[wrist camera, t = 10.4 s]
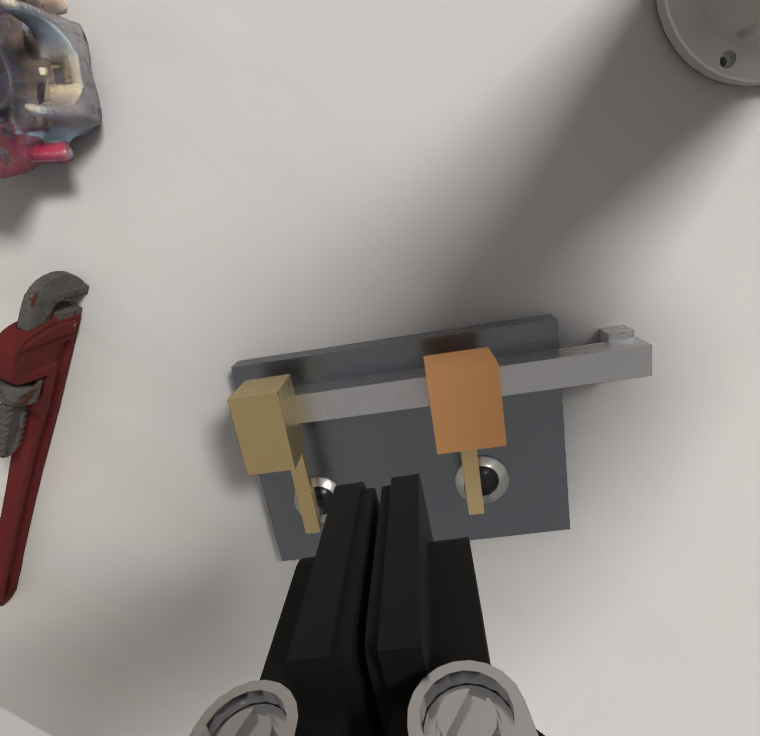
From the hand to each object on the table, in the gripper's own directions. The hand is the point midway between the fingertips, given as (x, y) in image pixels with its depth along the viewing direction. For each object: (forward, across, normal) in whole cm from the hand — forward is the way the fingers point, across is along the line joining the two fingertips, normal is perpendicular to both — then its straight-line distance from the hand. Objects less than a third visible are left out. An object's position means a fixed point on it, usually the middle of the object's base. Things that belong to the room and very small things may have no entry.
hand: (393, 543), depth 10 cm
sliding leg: (+23, -2, +8) cm, 24 cm away
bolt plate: (+25, 0, +10) cm, 27 cm away
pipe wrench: (+25, +30, +6) cm, 39 cm away
